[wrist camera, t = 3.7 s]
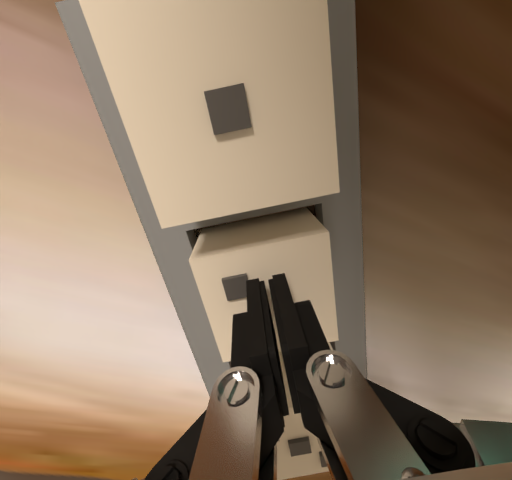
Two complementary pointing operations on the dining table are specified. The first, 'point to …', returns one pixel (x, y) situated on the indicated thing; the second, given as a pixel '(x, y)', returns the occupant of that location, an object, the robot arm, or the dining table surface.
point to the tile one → (222, 100)
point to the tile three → (297, 443)
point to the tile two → (264, 268)
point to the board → (183, 236)
